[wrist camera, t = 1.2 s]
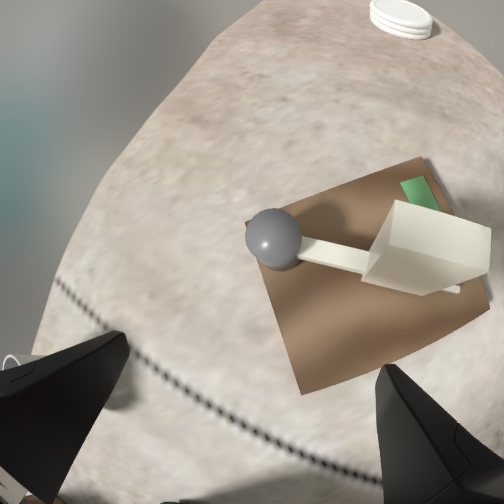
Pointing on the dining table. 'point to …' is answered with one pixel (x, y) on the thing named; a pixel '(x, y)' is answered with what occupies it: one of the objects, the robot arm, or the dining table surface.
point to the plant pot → (33, 500)
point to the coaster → (401, 19)
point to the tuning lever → (384, 249)
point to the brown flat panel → (361, 285)
